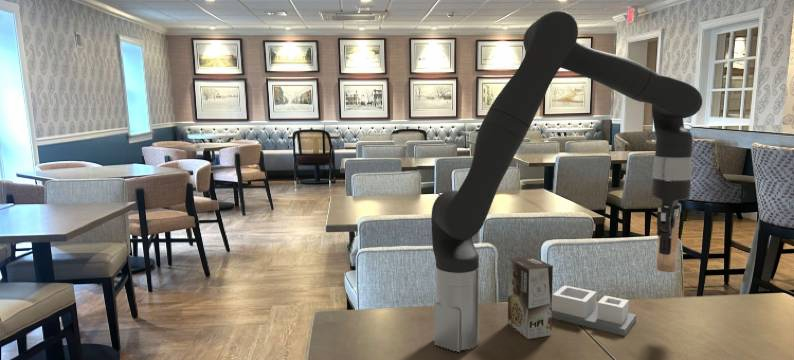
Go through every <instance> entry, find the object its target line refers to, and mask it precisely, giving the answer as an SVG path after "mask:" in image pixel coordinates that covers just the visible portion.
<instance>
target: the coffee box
mask: <svg viewBox="0 0 794 360" xmlns="http://www.w3.org/2000/svg"><path fill="white" fill-rule="evenodd" d="M553 271H554V265H552V264H549V263H547V262H545V261H544V260H541V259H538V258H536V257H534V256H532V255H525V256H519V257H515V258H508V259H507V324H508V323H509V324H511V325H512V326H513V327H515V328H516V329H517V330H518V331H519V332H520V334H521V335H522V334H523V335H522V336H524V337H525V338H526V339H527V340H531V339H537V338H542V337H549V336H551V335H552V320H553V318H552V295H553V279H554V277H553V275H554V273H553ZM509 324H508V325H509ZM512 326H511V327H512ZM513 327H512V328H513ZM516 329H515V330H516ZM517 330H516V331H517ZM518 331H517V332H518ZM519 332H518V333H519Z"/></svg>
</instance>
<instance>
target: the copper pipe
mask: <svg viewBox="0 0 794 360" xmlns="http://www.w3.org/2000/svg"><path fill="white" fill-rule="evenodd" d="M672 223H673V221H672V222H671V224H672ZM679 228H680V222H679V218H677V220H676V227H675V228H673V232H672V235H673V236H672V240H671V253H670V254H669V255H666V254H661V253H659V246H660V237H659V236H657V245H656V262H655V263H656V265H655V269H656V270H658V271H659V272H665V273H675V272H676V271H677V258H678V243H679V231H680V230H679ZM663 231H667V229H666V228H663Z"/></svg>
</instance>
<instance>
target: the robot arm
mask: <svg viewBox="0 0 794 360" xmlns="http://www.w3.org/2000/svg"><path fill="white" fill-rule="evenodd" d="M578 36H579V26H578V22H577V21H576V19H575V18H574V16H573V15H572V14H571V13H570V12H567V11H564V10H553V11H551V12H548V13H546V14H544V15H543V16H540V17H539V18H538V19H536V20H535V21H534V22H533V23H532V24H531V25H530V26H529V27H528V28H526V31H525V32H524V35H523V38H522V39H523V40H522V41H523V47H524V48H523V49H524V50H525V55H524V57H523V60H521V63H520V65H519V67H518V68H517V70H516V71H515V72H514V74H513V75H512V76H511V78H509V80H508V82H507V83H506V84H505V86H504V87H503V88H502V89H501V91H500V92H499V93H498V94H497V96H496V98H495V99H494V101H493V102H492V103H491V105H490V107H489V108H488V110H487V112H486V115H485V117H484V118H483V120H482V122H481V124H480V126H479V129H478V132H477V135H476V139H475V143H474V151H473V156H472V161H471V164H470V165H471V166H470V167H469V170H468V173H467V174H466V176H465V179H464V180H463V182H462V184H461V186H460V187H459V189H458V190H447V191H444V192H442V193H440V194H439V195H438V196H437V197H436V199H435V200H434V202H433V204H432V208H431V216H430V217H431V221H430V222H431V241H432V243H431V244H432V251H433V254H434V258H435V303H434V304H433V311H434V312H433V314H434V315H433V317H434V318H433V319H434V321H433V322H434V325H433V326H434V329H433V330H434V332H433V333H434V345H435V344H436V345H439V346H442V347H444V348H443V349H445V348H447V349H446V350H448V349H450V350H449V351H451V350H453V351H452V352H454V351H457V352H459V353H461V352H462V351H461V350H465V349H470V348H472V347H474V346H476V345H477V344H478V345H479V343H478V342H480V339H479V337H480V333H479V330H480V329H479V328H480V323H479V316H480V315H479V313H480V312H479V311H480V308H479V306H480V305H479V304H480V302H479V301H480V299H479V298H480V295H479V293H480V291H479V290H480V289H479V288H480V287H479V286H480V285H479V283H480V280H479V279H480V278H479V277H480V273H479V272H480V270H479V269H480V266H479V265H480V262H479V261H480V257H479V253H478V251H477V249H476V247H475V244H474V241H473V237H474V236H476V234H479V232H480V230H481V229H482V227H483V226H484V224H485V222H486V219H487V217H488V214H489V212H490V210H491V207H492V204H493V202H494V200H495V197H496V194H497V192H498V190H499V187H500V185H501V182H502V181H503V179H504V177H505V176H506V173H507V172H508V169H509V168H510V165H511V164H512V161H513V160H514V157H515V155H516V153H517V152H518V150H519V148H520V147H521V145H522V143H523V141H524V139H525V137H526V135H527V133H528V132H529V130H530V127H531V125H532V123H533V121H534V119H535V117H536V115H537V113H538V110H539V109H540V107H541V106H542V105H541V104H542V102H543V100H544V98H545V96H546V94H547V91H548V89H549V87H550V85H551V83H552V82H553V80H554V79H555V76H556V75H557V73H558V72H559V70H560V69H563V70H566V71H568V72H571V73H572V72H573V73H575V74H577V75H580V76H583V77H585V78H588V79H590V80H592V81H595V82H597V83H599V84H602V85H603V86H606V87H607V88H608V89H609V88H610V89H611V90H613V91H615V92H617V93H619V94H622V95H624V96H626V97H628V98H629V99H631V100H633V101H637V102H640V103H645V104H650V105H651V117H652V121H653V123H652V124H653V128H654V131H655V136H656V138H655V139H656V140H655V149H654V150H655V153H654V160H653V165H652V182H651V183H652V184H651V196H652V197H653V198H656V199H660V200H661V204H660V205H658V207H657V213H656V236H657V237H658V236H659V237H660V246H659V253H661V254H666V255H669V254H670V253H671V240H672V236H673V235H672V232H673V228H675V227H676V220H677V218H679V223H680V222H681V221H680V216H681V212H682V204H681V203H679V201H684V200H688V199H689V198H690V196H691V187H692V186H691V184H692V183H691V182H692V169H693V167H692V166H693V165H692V152H693V151H692V149H693V148H692V147H693V134H692V133H691V132H690V131H689V130H688V129H686V128H685V124H684V119H687V118H691V117H693V116H695V115H696V114H697V113H698V112H699V111H700V110H701V109H702V105H703V96H702V94H701V92H700V91H699V90H698V89H697V88H696V87H694V86H693V85H692V84H690V83H687V82H685V81H684V80H683V81H682V80H679V79H677V78H674V77H670V76H668V75H663V74H662V73H661V74H660V73H658V72H656V71H654V70H653V69H651V68H649V67H647V66H645V65H643V64H641V63H639V62H637V61H636V60H632V59H630V58H628V57H625V56H621V55H617V54H614V53H610V52H605V51H602V50H597V49H595V48H592V47H589V46H586V45H584V44H582V43H580V42H578V41H577V40H578ZM672 221H673V223H672V224H671V222H672ZM663 228H666V229H667V231H663ZM436 345H435V346H436ZM478 345H477V346H478ZM439 346H438V347H439ZM477 346H476V347H477ZM442 347H441V348H442ZM472 349H473V348H472ZM470 350H471V349H470ZM460 351H461V352H460ZM465 351H466V350H465ZM457 352H456V353H457Z"/></svg>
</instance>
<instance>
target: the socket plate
mask: <svg viewBox="0 0 794 360" xmlns="http://www.w3.org/2000/svg"><path fill="white" fill-rule="evenodd" d="M597 294H598V293H597V291H594V290H590V289H586V288H580V287H575V286H569V285H565V284H564V285H562V287H559V289H557V291H555V292H553V293H552V319H555V320H558V321H559V320H560V321H562V322H563V321H564V322H567V323H570V324H575V325H579V326H582V327H586V328H591V329H596V330H599V331H602V332H607V333H611V334H614V335H619V336H623V337H625V336H626V335H627V334H628V332H629V331H630V330H631V328H632V327H634V325H635V323H636V322H637V314H634V313H632V312H631V313H630V312H629V301H630V300H629V299H624V298H619V297H614V296H609V295H604V296H603V297H602V298H600V300H599V301H598V302H597Z"/></svg>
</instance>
